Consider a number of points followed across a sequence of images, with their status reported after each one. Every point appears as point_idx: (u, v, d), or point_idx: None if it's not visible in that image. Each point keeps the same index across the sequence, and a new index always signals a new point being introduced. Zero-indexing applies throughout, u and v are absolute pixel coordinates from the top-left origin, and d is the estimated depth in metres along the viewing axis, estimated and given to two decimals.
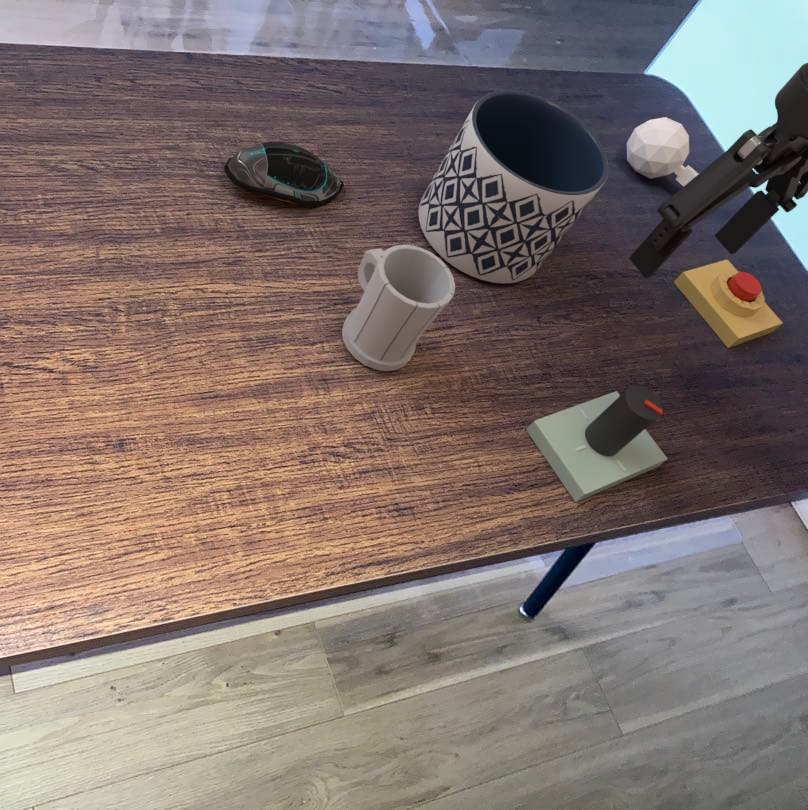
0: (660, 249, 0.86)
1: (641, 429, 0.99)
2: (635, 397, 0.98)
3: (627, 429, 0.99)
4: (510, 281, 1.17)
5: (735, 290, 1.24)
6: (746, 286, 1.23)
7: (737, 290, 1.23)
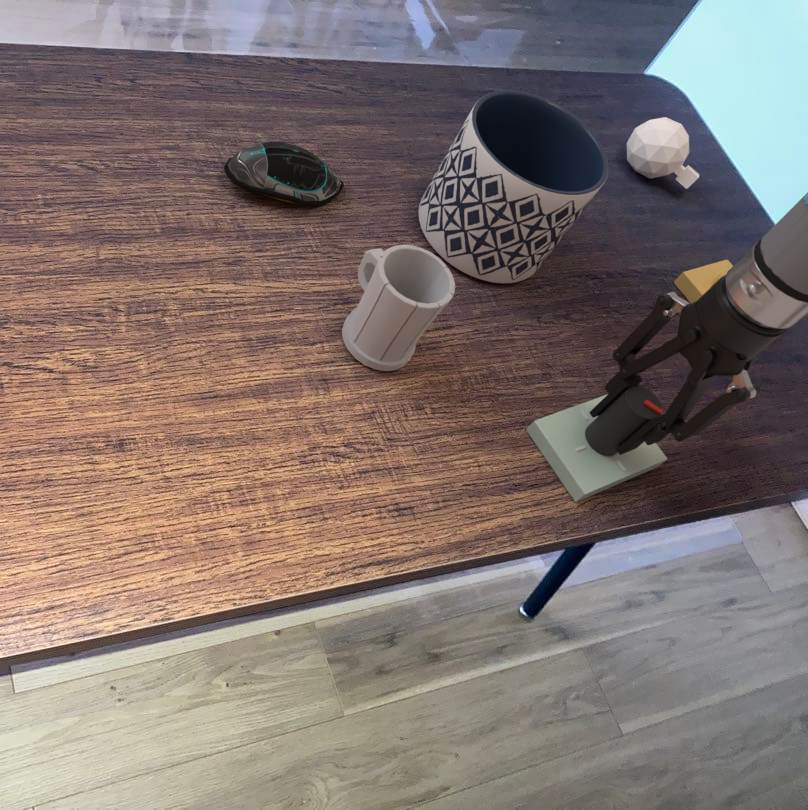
0: None
1: None
2: (635, 397, 0.98)
3: (627, 429, 0.99)
4: (510, 281, 1.17)
5: None
6: None
7: None
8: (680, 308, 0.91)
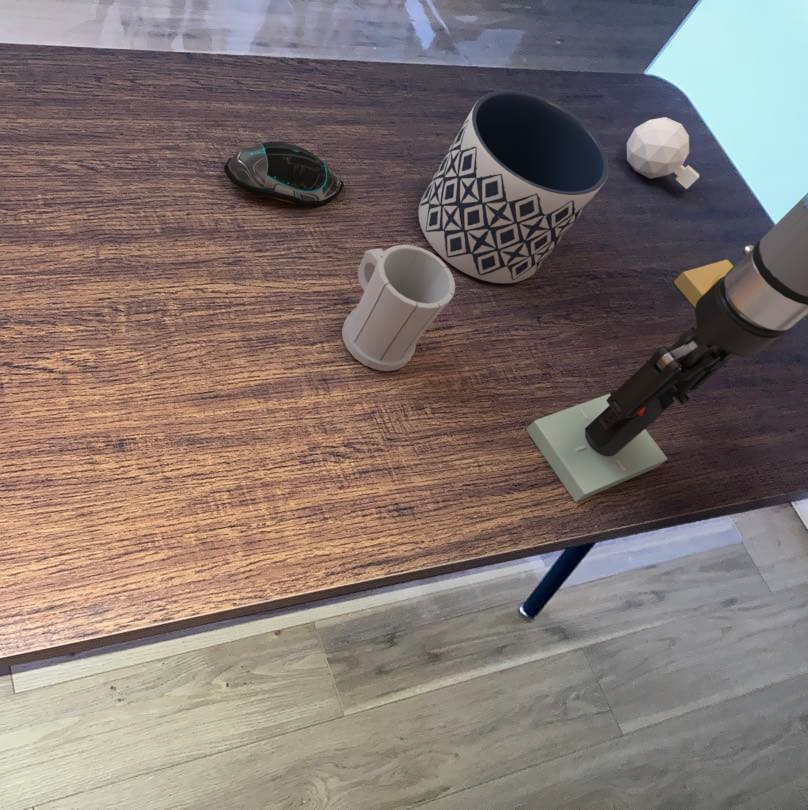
0: (610, 428, 0.98)
1: None
2: None
3: None
4: (510, 281, 1.17)
5: None
6: None
7: None
8: None
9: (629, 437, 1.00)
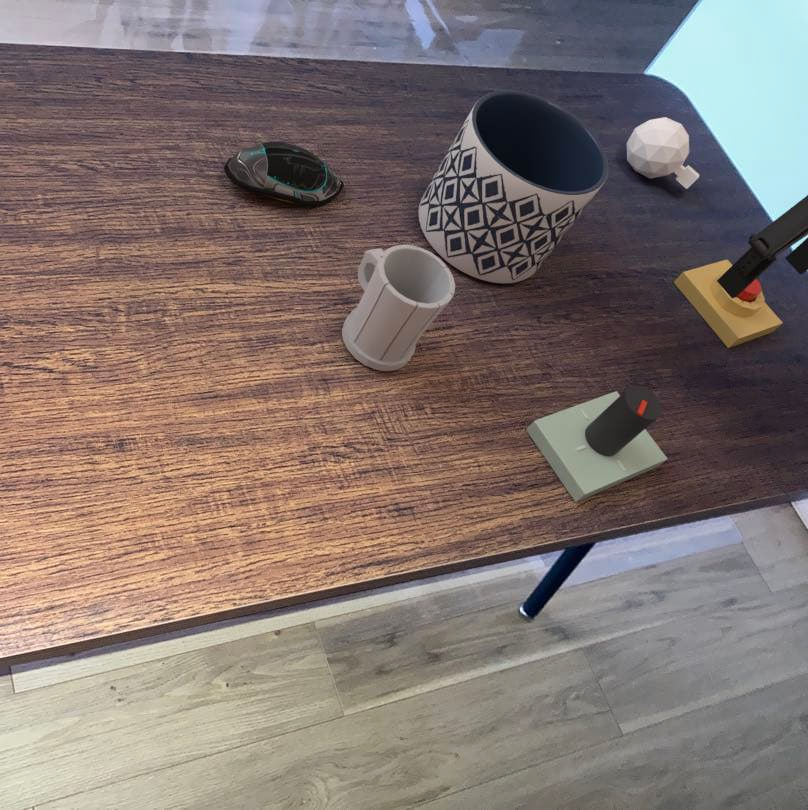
0: (747, 274, 1.00)
1: (616, 414, 0.99)
2: (644, 395, 0.99)
3: (611, 406, 1.00)
4: (510, 281, 1.17)
5: None
6: None
7: None
8: None
9: (629, 437, 1.00)
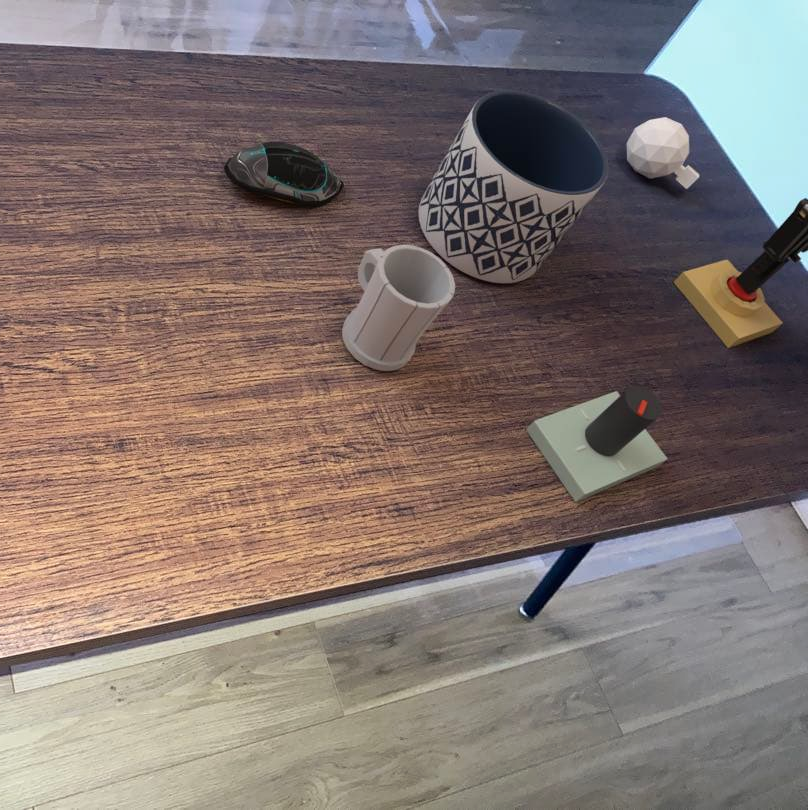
0: (761, 273, 1.20)
1: (616, 414, 0.99)
2: (644, 395, 0.99)
3: (611, 406, 1.00)
4: (510, 281, 1.17)
5: None
6: (741, 291, 1.24)
7: None
8: None
9: (629, 437, 1.00)
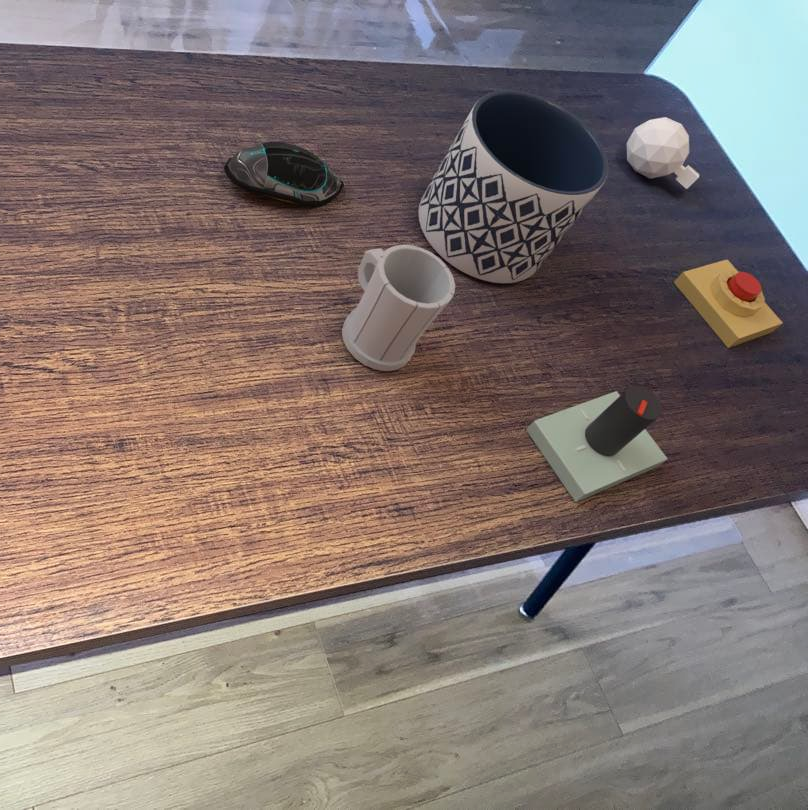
0: None
1: (616, 414, 0.99)
2: (644, 395, 0.99)
3: (611, 406, 1.00)
4: (510, 281, 1.17)
5: (735, 290, 1.24)
6: (746, 286, 1.23)
7: (737, 290, 1.23)
8: None
9: (629, 437, 1.00)
